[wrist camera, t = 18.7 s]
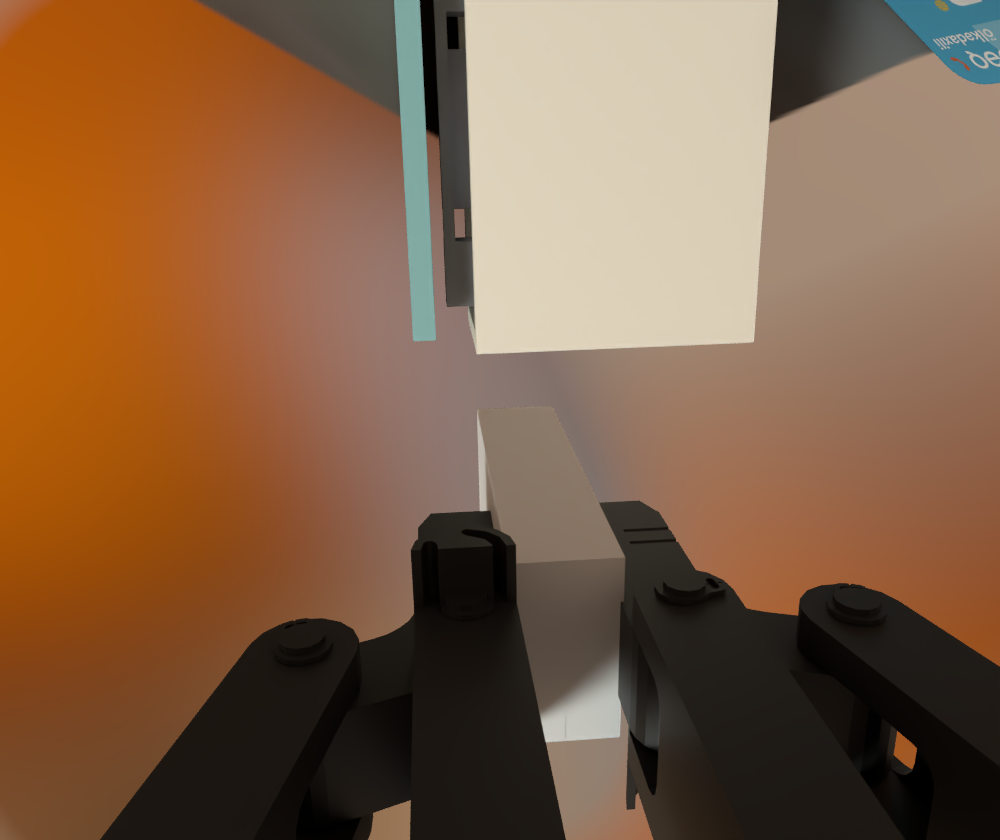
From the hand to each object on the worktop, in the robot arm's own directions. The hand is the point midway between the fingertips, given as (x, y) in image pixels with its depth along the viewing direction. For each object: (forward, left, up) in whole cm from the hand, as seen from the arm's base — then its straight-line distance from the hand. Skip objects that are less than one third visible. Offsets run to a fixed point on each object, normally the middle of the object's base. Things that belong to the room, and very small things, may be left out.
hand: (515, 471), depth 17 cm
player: (-7, +6, -26) cm, 28 cm away
